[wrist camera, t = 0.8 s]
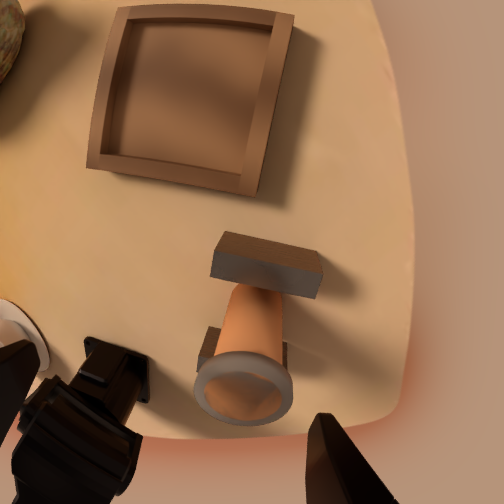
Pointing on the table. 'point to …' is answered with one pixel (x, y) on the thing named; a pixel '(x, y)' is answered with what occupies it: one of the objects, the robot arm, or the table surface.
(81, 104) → the table surface
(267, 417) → the pin
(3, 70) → the seashell
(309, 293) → the hitch bracket
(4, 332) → the teacup
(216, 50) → the tray
